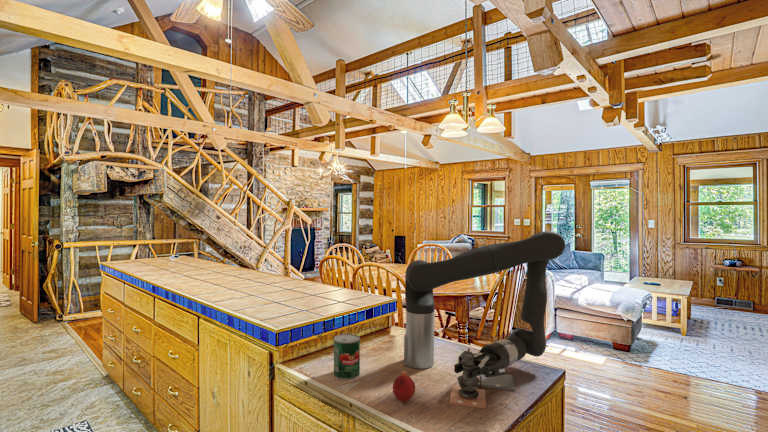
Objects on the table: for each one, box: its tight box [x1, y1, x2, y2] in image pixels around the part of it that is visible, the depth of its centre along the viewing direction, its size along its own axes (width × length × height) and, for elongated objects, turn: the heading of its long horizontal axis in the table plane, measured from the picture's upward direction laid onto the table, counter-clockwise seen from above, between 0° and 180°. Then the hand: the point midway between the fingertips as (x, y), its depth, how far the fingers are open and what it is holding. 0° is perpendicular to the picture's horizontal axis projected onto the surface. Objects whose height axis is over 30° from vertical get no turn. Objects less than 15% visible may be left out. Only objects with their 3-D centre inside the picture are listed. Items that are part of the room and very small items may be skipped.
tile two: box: [448, 385, 487, 409], centre depth 102 cm, size 9×9×1 cm
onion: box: [392, 370, 416, 403], centre depth 99 cm, size 6×6×8 cm
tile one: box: [480, 373, 516, 392], centre depth 111 cm, size 9×9×1 cm
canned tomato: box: [333, 333, 361, 381], centre depth 115 cm, size 8×8×11 cm
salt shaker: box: [457, 348, 481, 398], centre depth 102 cm, size 6×6×12 cm
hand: (462, 371), depth 100 cm, fingers closed on salt shaker, 3 cm apart
